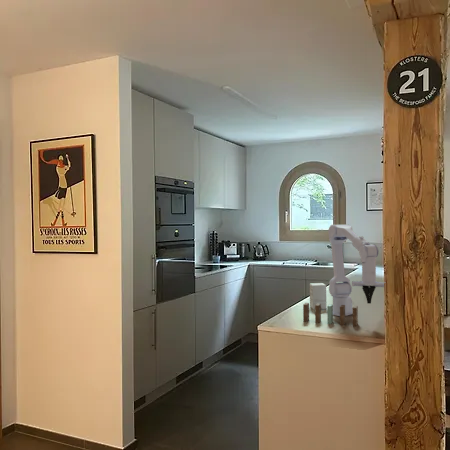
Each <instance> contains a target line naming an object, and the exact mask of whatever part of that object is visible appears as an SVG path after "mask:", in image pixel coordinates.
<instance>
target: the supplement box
mask: <svg viewBox="0 0 450 450" xmlns="http://www.w3.org/2000/svg"><path fill="white" fill-rule="evenodd" d="M317 303H319V304H321V310H327V306H328V305H327V284H325V283H323V282H314V283H309V308H311V309H312V310H315V305H316V304H317Z"/></svg>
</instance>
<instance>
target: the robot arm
mask: <svg viewBox="0 0 450 450" xmlns="http://www.w3.org/2000/svg"><path fill="white" fill-rule="evenodd" d="M327 231H328V240H329V241H328V242H329V243H330V247H331V256H332V257H331V258H332V266H333V268H332V269H333V277H332V278H331V279H330V280H329V282H328V283H329V284H328V285H329V286H328V292H329V294H330V296H331V297H332V304H333V316H337V317H340V306H341V305H345V317H346V316H351V315H353V299H352V297H351V296H350V295H351V294H352V292H353V291H352V289H353V287H361V289H362V291H363V293H364V295H365V299H366V303H367V304H372V298H373V295H374V292H375V290H376V288H384V283H385V282H382V281H377V275H376V274H377V273H376V272H377V271H376V270H377V267H376V266H377V259H376V258H377V257H378V256H379V247H378V246H377V244H371V243H370V241H367V240H366V239H365V238H364V236H363V235H360V236H359V235H358V234H356V233H355V232H354V230H353V226H351V224H347V223H346V224H331V225H330V226H329V227H328V230H327ZM347 240H349V241H351V242H352V246H353V248H355V250H357V251H358V254H359V257H360V262H361V268H362V269H361V276H362V278H361V280H360V281H358V280H356V281H354V280H353V281H350V279H349V278H348V277H347V276H346V273H345V264H344V262H345V261H344V254H343V244H344V242H346V241H347Z"/></svg>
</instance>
